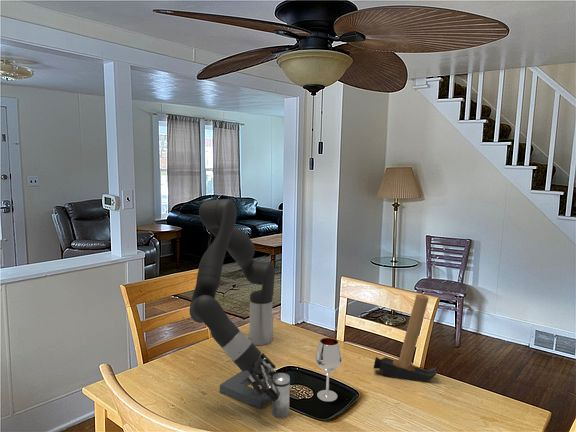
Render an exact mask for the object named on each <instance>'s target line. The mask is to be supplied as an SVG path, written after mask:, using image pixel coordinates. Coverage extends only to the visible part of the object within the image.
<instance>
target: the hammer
mask: <svg viewBox="0 0 576 432" xmlns="http://www.w3.org/2000/svg"><path fill="white" fill-rule="evenodd" d="M429 299H430V298H429V296H426V295H424V294H416V296H415V299H414V303H413V306H412V311H411V313H410V317H409V321H408V324H407V329H406V332H405V336H404V339H403V342H402V343H403V344H402V347H401V350H400V355H399V358H398V359H392V358H389V357H387V356H386V357H383V358H381V359H380V358H379V357H378V356H375V358H374V364H373V369H375V370H376V369H377V370H378V369H379V371H380V373H381V374H382V375H385V376H388V377H391V378H394V379H398V380H403V381H405V380H406V381H412V382H418V383H427V382H429V381H431V380H433V378H434V377H435V376H436V375H437V371H436V366H433V368H428V369H427V368H421V367H418V366H415V365H413V364H412V362H413V356H414V353H415V350H416V346H417V342H418V339H419V335H420V332H421V328H422V324H423V320H424V316H425V313H426V310H427V306H428V303H429Z"/></svg>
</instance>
